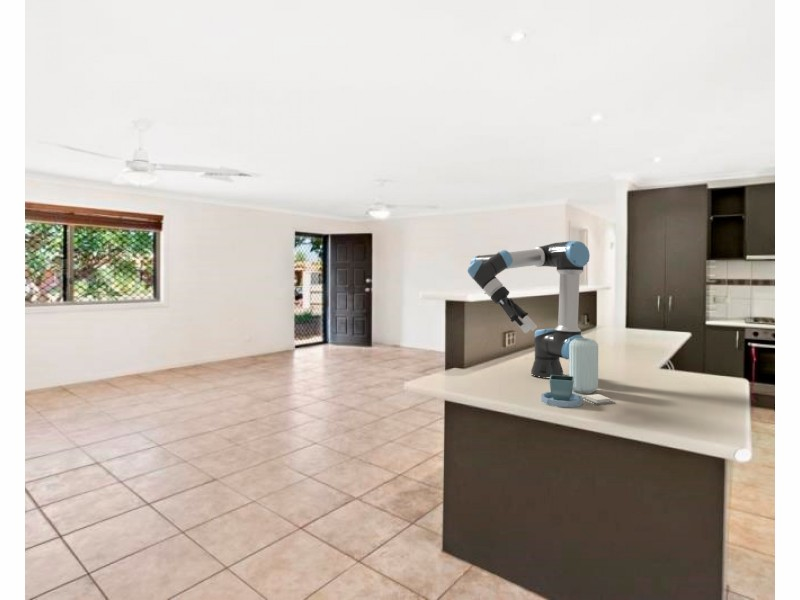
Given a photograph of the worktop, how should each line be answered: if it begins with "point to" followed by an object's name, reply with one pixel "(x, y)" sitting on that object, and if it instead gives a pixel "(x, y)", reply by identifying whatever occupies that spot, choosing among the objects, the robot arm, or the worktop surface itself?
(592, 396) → the mat with cloth
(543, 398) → the dish
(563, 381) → the flower pot
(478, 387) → the worktop surface
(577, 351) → the vase
